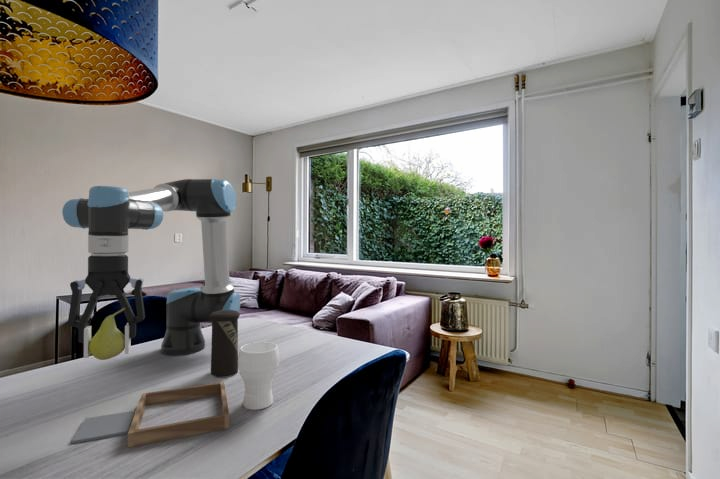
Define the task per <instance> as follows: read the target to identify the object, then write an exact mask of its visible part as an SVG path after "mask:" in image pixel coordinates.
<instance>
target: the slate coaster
mask: <svg viewBox="0 0 720 479" xmlns="http://www.w3.org/2000/svg"><path fill="white" fill-rule="evenodd" d="M135 412H136V410H130V411H123V412H117V413H112V414H105V415H99V416H92V417H91V416H90V417H86V418H85V419H84V421H83V422H82V423H81V425H80V427H79V429H77V432H76V433H75V435H74V437H73V438H72V440H71V444H73V443H74V444H78V443H85V442H89V440H90V441H95V439H96V440H100V438H101V439H107V438H112V437H117V435H118V436H122V435H123V434H124V435H128V432H129V429H130V426H131V423H132V421H133V418H134V415H135ZM111 436H112V437H111ZM106 437H107V438H106ZM84 441H85V442H84Z"/></svg>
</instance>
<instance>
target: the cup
mask: <svg viewBox="0 0 720 479" xmlns="http://www.w3.org/2000/svg"><path fill="white" fill-rule="evenodd" d="M279 365H280V352H279V349H278V344H276V343H274V342H269V341H253V342H250V343H246V344H243V345H242V346H241V347H239V351H238V372H239V375H240V377H241V379H242V380H243V382H244V383H243V384H244V395H243V400H242V406H243V407H244V408H245V409H247V410H254V411H255V410H257V411H258V410H262V409H267V408H268V407H271V405H273V403H274V397H273V391H272V387H273V380H274V378H275V376H276V374H277V371H278V369H279Z"/></svg>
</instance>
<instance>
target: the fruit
mask: <svg viewBox="0 0 720 479" xmlns="http://www.w3.org/2000/svg"><path fill="white" fill-rule="evenodd" d="M123 310H125V308H122V307H121V309H119V310H118V311H116V312H114V313H113V314H110V315H108V316H106V317H105V318H104V320H103V321H102V322H101V324H100V327H99V329H98V330H97V331H96V333H95V334H94V336H92V337H91V341H90V343H89V350H90V353H91V355H92V356H93V357H94V358H95V359H97V360H100V361H105V360H110V359H112V358H114V357H116V356H119V355H121V353H123V352H124V351H125V334H123V332H122V331H120V329H119V328H117V324H116V320H115V316H116V315H118V314H120V313H122V312H123Z"/></svg>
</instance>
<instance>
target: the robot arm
mask: <svg viewBox="0 0 720 479" xmlns="http://www.w3.org/2000/svg"><path fill="white" fill-rule="evenodd" d="M236 196H237V195H236V191H235V189H234V187H233V186H232V184H231V183H230V182H229V181H228V180H225V179H218V178H217V179H216V178H213V179H211V178H209V179H208V178H207V179H206V178H205V179H204V178H201V179H200V178H199V179H198V178H195V179H193V178H185V179H177V180H174V181H170V182H165V183H160V184H157V185H155V186H154V187H152V188H149V189H148V188H147V189H142V190H136V191H130V192H129V190H128V189H127V188H125V187H120V186H112V185H111V186H109V185H93V186H92V187H90V188H89V190H88V198H83V197H82V198H73V199H69V200H67V201H66V202H65V203H64V204H63V207H62V213H61V214H62V217H63V220H64V222H65V224H67V225H68V226H70V227H71V228H79V229H84V230H85V229H88V232H87V234H88V236H87V238H88V239H87V252H88V253H89V254H90V255H89V256H88V257H87V276H86V277H85V279H81V280H73V281H71V282H70V284H69V286H70V289H71V298H70V305H69V311H68V319H67V326H68V327H70V328H71V327H73V328H77V330H78V332H77V333H78V336H77V341H78V343H80V344H82V343H83V359H88V358H89V357H90V356H91V355H92V354H91V353H90V350H89V343H90V341H91V339H92V325H88V324H89V321H90V319H91V317H92V314H93V312H94V311H95V308H96V306H97V304H98V302H99V299H100V298H101V297H103V296H107V295H108V296H115V297H116V299H117V300H118V302H119V304H120V306H121V309H122V308H125V310H123V311H122V312H123V313H124V316H125V318H126V321H127V323H126V324H125V325H124V336H125V349H124V354H125V355H127V354H128V355H129V354H130V352H131V349H132V345H131V343H132V342H131V341H132V340H131V339H135V337H136V335H137V323H139V322H143V321H144V320H145V318H146V313H145V305H144V297H143V291H142V290H143V289H142V288H143V284H144V279H143V278H135V277H134V278H133V277H131V276H130V274H129V256H128V255H127V254H126V253H128V252H129V230H152V229H156V228H158V227H159V226H160V225H161V224H162V222H163V219H164V212H167V213H168V212H173V211H182V212H183V211H184V212H195V215H196V219H198V220H199V221H200V223H201V235H202V236H201V238H202V254H203V272H204V286H203V287H202V288H201V287H199V286H198V287H197V286H196V287H187V288H180V289H175V290H171V291H169V292H168V293H167V296H166V303H165V304H166V330H165V334H164V337H163V339H162V342H161V345H160V352H161V353H162V354H164V355H168V356H182V355H183V356H184V355H188V354H195V353H197V352H200V351H202V350H203V349H205V347H206V346H205V345H206V340H205V337H204V334H203V331H202V329H201V324H203V323H204V324H212V320H211V318H210V315H211V314H212V313H213V312H216V311H221V310H235V311H238V312H239V313H240V308H241V303H242V301H241V300H242V298H241V295H240V294H239V293H238V292H237V291H236V292H235V287H234V285H233V284H231V283H230V268H229V264H230V263H229V247H228V246H229V244H228V226H227V225H228V224H227V221H228V220H229V218H231V213H232V212H234V211H235V209H236V207H237V206H236V205H237V197H236ZM128 284H130V285H131V288H133V293H134V294H133V295H134V300H135V301H134V303H135V310H136V315H135V313H134V311H133V309H132V306H131V305H130V302H129V300H128V297H127V295H126V291H125V290H124V289H125V288H126V286H127V285H128ZM85 286H88V288H89V289H91V290H92V293H91V295H90V297H89V300H88V302H87V305H86V307H85V309H84V312H82V316H81V318H80V320H79V314H80V309H81V303H82V302H81V301H82V296H83V295H82V294H83V290H84V289H85Z"/></svg>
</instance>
